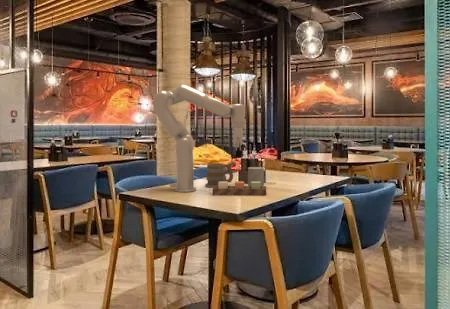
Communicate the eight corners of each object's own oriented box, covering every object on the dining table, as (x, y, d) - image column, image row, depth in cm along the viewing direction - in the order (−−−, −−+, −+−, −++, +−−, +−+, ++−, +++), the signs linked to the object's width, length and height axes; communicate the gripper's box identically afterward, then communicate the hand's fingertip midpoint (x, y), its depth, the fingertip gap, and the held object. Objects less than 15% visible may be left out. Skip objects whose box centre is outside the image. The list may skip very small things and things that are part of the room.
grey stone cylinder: (266, 187, 246) (266, 167, 245) (259, 190, 238) (259, 169, 237) (252, 186, 251) (252, 166, 250) (245, 189, 242) (244, 168, 241)
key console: (212, 195, 223) (212, 188, 223) (214, 192, 233) (214, 185, 233) (266, 195, 221) (266, 189, 220) (265, 192, 231) (265, 186, 230)
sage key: (251, 190, 224) (251, 182, 223) (251, 189, 229) (251, 181, 228) (260, 191, 223) (260, 182, 223) (260, 189, 228) (260, 181, 228)
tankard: (210, 188, 244) (209, 163, 243) (203, 185, 256) (202, 161, 254) (240, 186, 252) (240, 162, 250) (232, 183, 263) (232, 160, 262)
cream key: (218, 190, 225) (218, 182, 225) (219, 189, 230) (219, 181, 230) (227, 190, 225) (227, 182, 224) (228, 189, 230) (228, 181, 229)
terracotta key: (234, 190, 224) (234, 182, 224) (235, 189, 229) (235, 181, 229) (243, 190, 224) (243, 182, 224) (244, 189, 229) (244, 181, 229)
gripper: (232, 125, 242) (232, 156, 244) (230, 126, 228) (231, 158, 229) (244, 125, 242) (245, 156, 244) (244, 125, 227) (244, 158, 229)
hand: (238, 157), depth 236 cm, fingers closed
